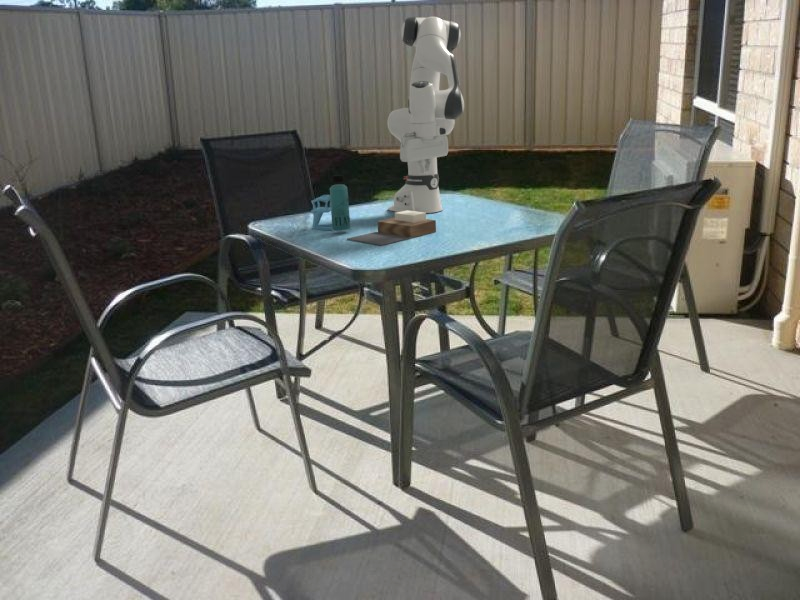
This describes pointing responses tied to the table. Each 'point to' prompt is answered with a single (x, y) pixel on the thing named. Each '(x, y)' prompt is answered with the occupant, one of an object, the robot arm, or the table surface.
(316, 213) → the chair
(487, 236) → the table surface
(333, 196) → the beverage bottle
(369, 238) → the charcoal mat
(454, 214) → the table surface
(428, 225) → the block
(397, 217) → the cream tile
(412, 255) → the table surface
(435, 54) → the robot arm
